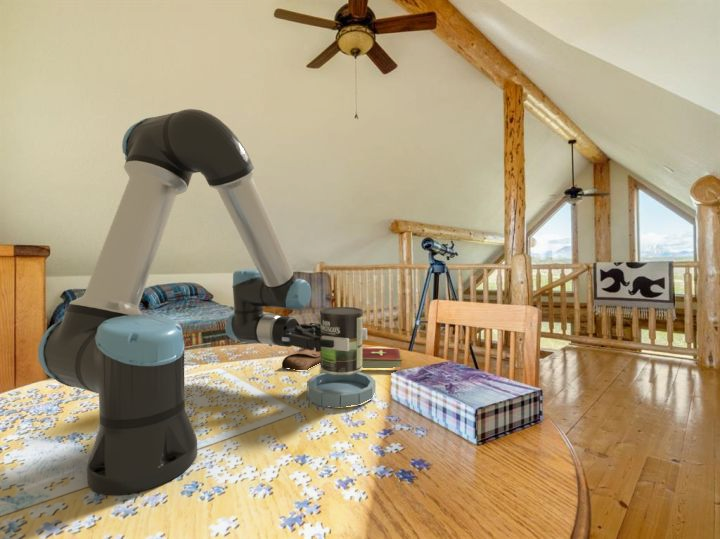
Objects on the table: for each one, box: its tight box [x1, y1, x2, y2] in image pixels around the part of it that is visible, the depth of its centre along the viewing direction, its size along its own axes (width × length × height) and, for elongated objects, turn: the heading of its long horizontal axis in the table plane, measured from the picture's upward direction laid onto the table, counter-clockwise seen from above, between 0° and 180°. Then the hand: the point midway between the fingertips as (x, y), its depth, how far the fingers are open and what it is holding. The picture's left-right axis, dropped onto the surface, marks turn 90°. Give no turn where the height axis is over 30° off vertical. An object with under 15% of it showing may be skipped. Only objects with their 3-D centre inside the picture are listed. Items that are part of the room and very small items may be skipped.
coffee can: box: [319, 306, 364, 375], centre depth 87 cm, size 10×10×14 cm
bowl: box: [306, 371, 376, 407], centre depth 87 cm, size 16×16×3 cm
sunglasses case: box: [281, 348, 321, 371], centre depth 112 cm, size 18×7×7 cm, turn 154°
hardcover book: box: [362, 347, 403, 368], centre depth 110 cm, size 12×21×4 cm, turn 87°
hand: (358, 339), depth 85 cm, fingers closed on coffee can, 10 cm apart
